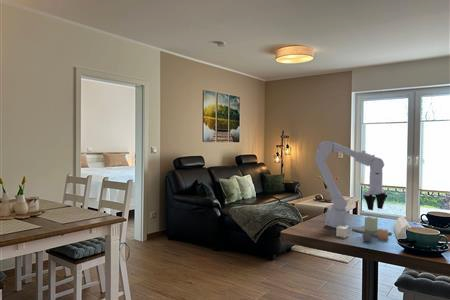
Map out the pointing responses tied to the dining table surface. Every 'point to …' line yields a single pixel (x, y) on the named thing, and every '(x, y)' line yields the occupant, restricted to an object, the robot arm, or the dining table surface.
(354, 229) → the slate board
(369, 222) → the sage block
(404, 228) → the crystal
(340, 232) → the off-white cube
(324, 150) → the robot arm
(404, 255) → the dining table surface
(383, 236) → the tan sphere
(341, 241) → the dining table surface
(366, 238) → the rubber ball
